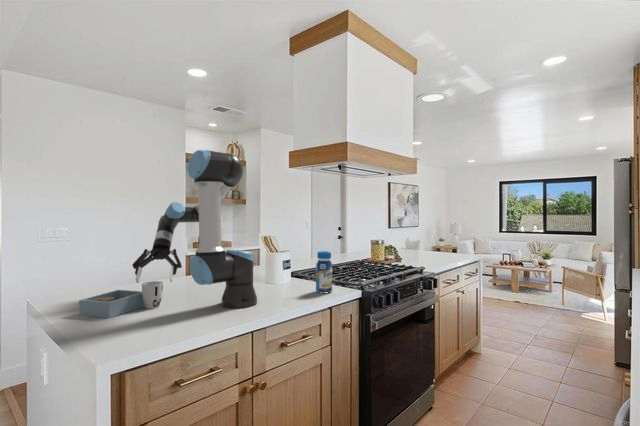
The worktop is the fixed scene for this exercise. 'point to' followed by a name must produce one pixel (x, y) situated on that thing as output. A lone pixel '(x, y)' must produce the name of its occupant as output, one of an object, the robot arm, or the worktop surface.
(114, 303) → the tote
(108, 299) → the walnut cube
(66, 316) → the worktop surface
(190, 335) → the worktop surface
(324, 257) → the beverage bottle
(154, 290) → the cup
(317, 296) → the worktop surface
